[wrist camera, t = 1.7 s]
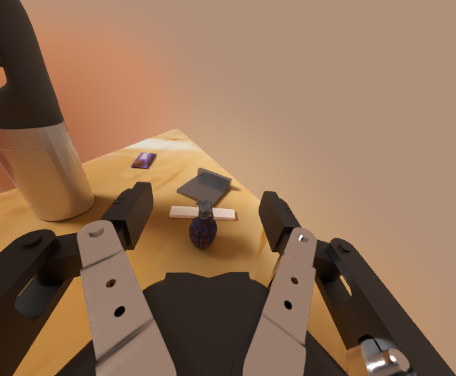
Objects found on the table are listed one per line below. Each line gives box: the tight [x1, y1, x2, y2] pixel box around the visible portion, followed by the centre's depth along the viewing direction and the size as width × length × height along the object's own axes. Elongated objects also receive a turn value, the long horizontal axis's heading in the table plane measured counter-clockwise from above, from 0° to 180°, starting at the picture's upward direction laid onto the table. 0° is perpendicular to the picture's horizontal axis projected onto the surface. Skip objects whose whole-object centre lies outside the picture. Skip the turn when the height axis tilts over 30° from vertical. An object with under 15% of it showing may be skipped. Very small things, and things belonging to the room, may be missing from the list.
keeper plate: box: [177, 168, 232, 207], centre depth 46 cm, size 11×11×3 cm
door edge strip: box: [169, 206, 235, 220], centre depth 38 cm, size 15×3×1 cm, turn 95°
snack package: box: [131, 153, 156, 168], centre depth 56 cm, size 12×2×5 cm
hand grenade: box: [189, 200, 217, 249], centre depth 29 cm, size 6×5×10 cm
